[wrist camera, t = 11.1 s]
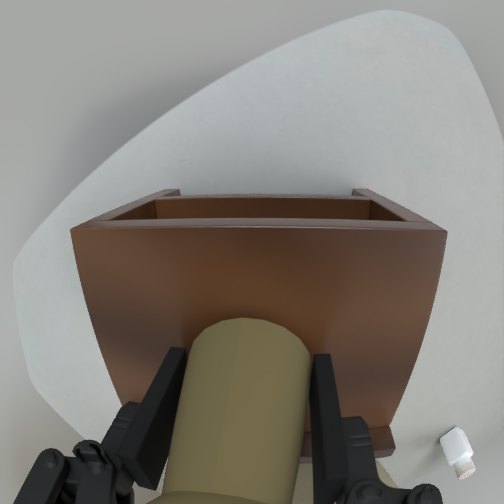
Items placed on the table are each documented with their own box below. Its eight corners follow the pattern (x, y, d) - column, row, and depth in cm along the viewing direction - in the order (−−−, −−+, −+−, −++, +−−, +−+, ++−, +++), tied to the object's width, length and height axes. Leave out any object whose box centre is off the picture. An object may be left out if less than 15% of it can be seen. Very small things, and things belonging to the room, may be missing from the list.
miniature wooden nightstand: (163, 189, 26) (44, 240, 11) (369, 189, 24) (471, 244, 9) (179, 324, 30) (118, 439, 16) (353, 329, 28) (391, 456, 14)
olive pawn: (290, 416, 15) (280, 601, 4) (183, 392, 15) (117, 569, 4) (330, 334, 13) (364, 594, 2) (196, 302, 13) (74, 551, 2)
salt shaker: (456, 424, 33) (474, 466, 24) (463, 429, 34) (480, 468, 25) (437, 438, 34) (452, 480, 25) (445, 442, 35) (460, 482, 26)
